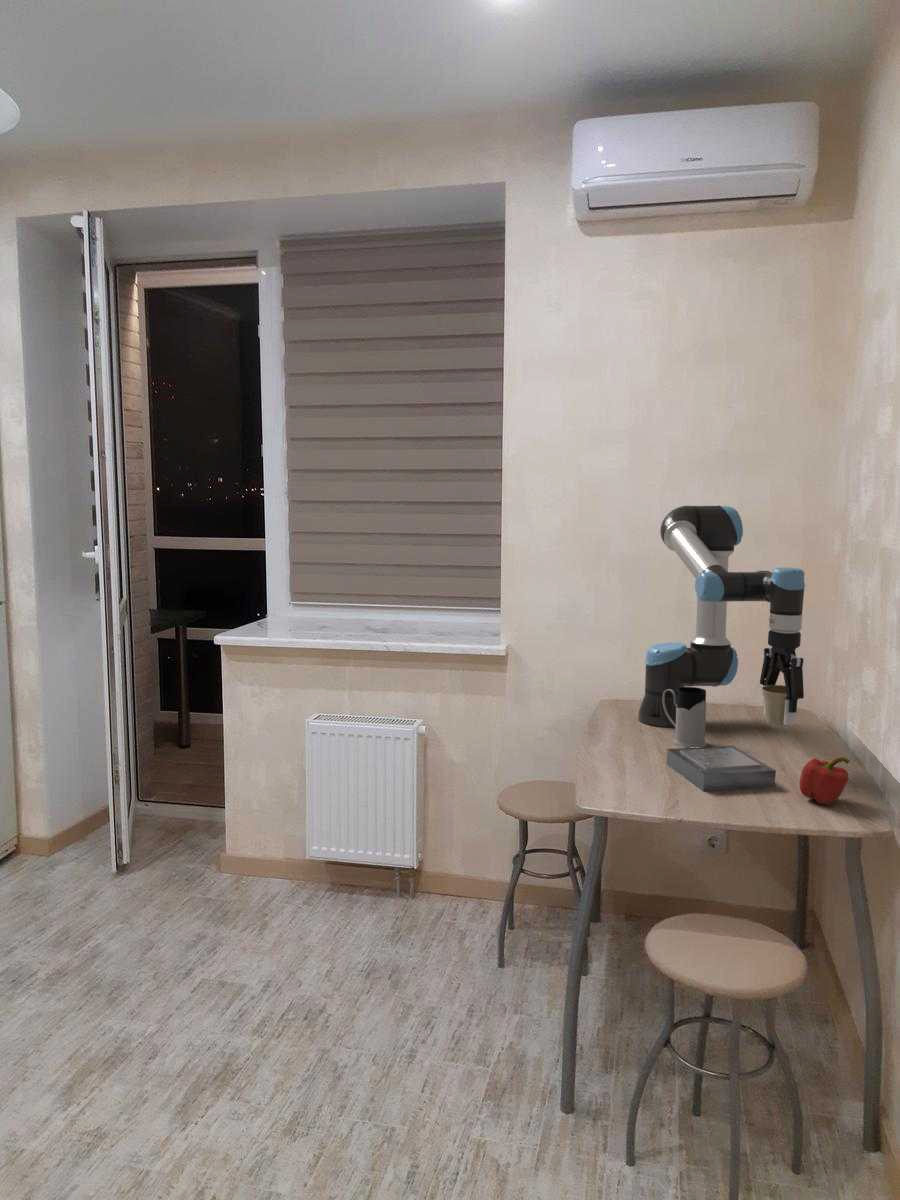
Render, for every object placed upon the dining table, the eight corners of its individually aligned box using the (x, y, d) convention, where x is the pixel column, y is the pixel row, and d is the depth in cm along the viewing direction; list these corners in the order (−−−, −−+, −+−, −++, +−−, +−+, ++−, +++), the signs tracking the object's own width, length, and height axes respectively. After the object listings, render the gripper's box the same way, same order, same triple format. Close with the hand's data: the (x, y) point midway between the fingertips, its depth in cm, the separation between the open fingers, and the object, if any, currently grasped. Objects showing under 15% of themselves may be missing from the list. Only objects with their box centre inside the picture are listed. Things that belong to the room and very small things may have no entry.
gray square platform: (666, 764, 217) (667, 747, 217) (732, 760, 220) (733, 743, 220) (703, 791, 198) (704, 772, 197) (774, 786, 201) (775, 768, 200)
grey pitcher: (692, 749, 230) (694, 695, 228) (651, 737, 241) (653, 685, 239) (712, 744, 235) (715, 690, 233) (671, 732, 246) (673, 681, 244)
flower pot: (774, 729, 209) (776, 695, 208) (751, 719, 218) (753, 686, 217) (807, 726, 212) (809, 692, 211) (783, 716, 221) (785, 683, 220)
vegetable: (836, 792, 197) (839, 750, 196) (859, 809, 187) (862, 764, 186) (789, 792, 197) (792, 750, 196) (810, 809, 187) (812, 764, 186)
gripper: (748, 623, 222) (743, 708, 225) (795, 638, 201) (789, 732, 204) (775, 623, 223) (769, 707, 226) (824, 637, 202) (817, 730, 205)
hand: (779, 719), depth 215 cm, fingers closed on flower pot, 8 cm apart
